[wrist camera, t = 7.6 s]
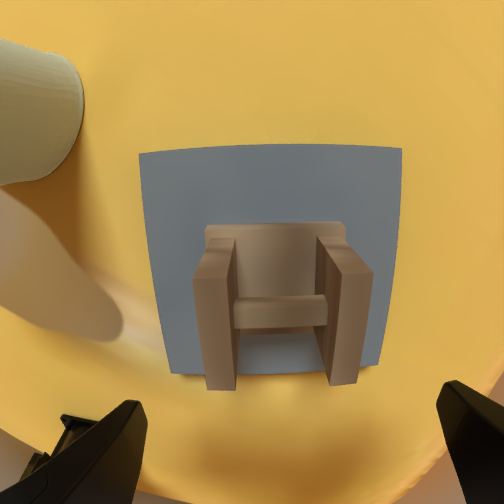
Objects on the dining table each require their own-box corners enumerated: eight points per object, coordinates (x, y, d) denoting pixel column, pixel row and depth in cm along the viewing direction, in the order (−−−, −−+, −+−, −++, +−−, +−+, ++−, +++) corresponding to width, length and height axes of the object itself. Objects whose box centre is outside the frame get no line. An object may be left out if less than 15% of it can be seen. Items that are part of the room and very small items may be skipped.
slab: (176, 356, 22) (170, 373, 20) (150, 152, 17) (138, 153, 16) (369, 348, 22) (377, 364, 20) (388, 147, 17) (401, 148, 15)
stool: (216, 324, 19) (201, 396, 13) (207, 225, 17) (182, 268, 11) (333, 320, 18) (361, 388, 13) (340, 221, 17) (382, 261, 11)
